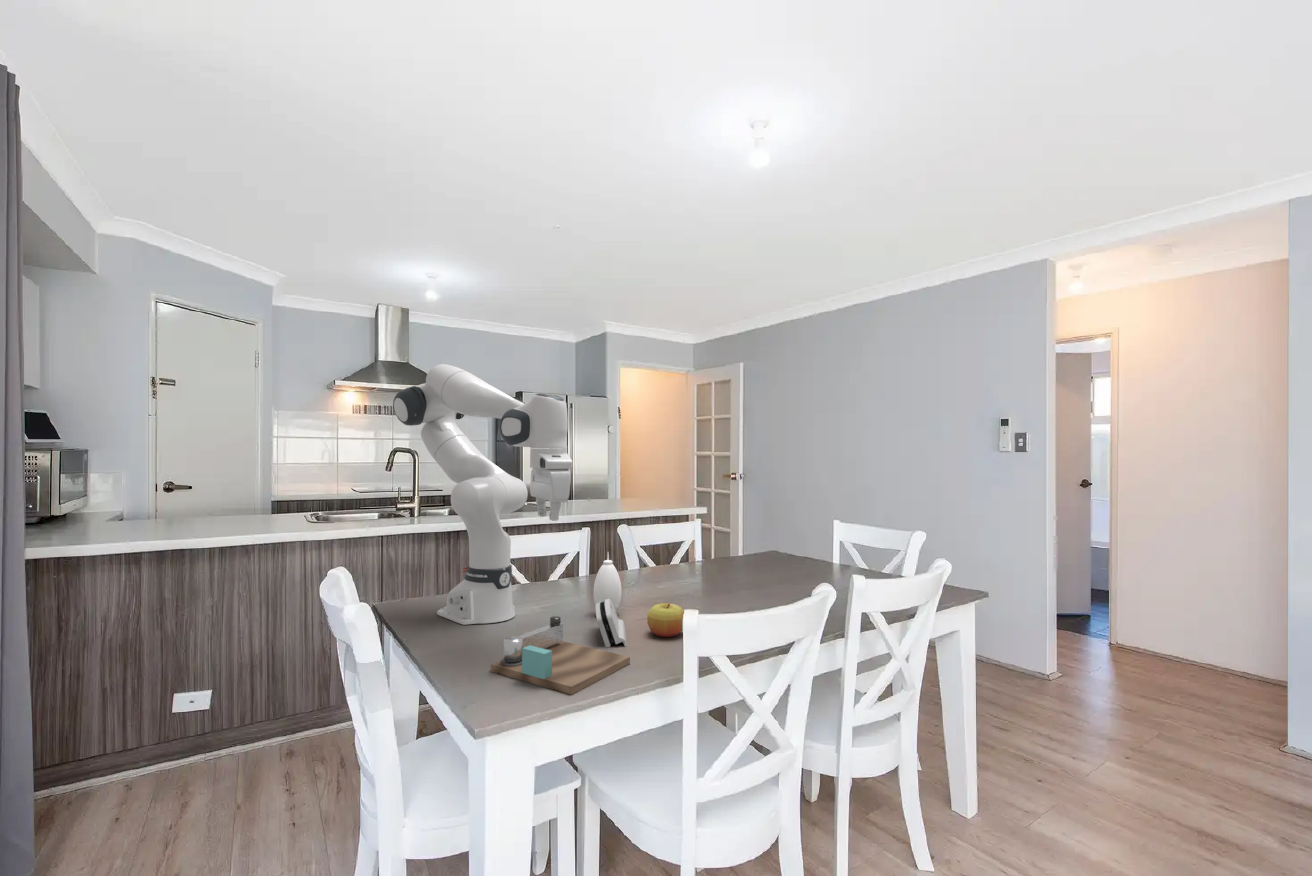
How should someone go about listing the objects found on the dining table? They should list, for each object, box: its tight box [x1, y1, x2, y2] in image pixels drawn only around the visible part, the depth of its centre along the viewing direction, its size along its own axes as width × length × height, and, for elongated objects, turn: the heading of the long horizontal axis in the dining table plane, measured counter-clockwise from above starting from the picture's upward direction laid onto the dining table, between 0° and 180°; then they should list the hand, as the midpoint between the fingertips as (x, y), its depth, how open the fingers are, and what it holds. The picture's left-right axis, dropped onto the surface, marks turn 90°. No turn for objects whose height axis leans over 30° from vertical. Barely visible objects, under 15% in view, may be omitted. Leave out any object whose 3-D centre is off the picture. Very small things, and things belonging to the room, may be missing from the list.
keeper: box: [522, 646, 552, 679], centre depth 123 cm, size 6×2×5 cm, turn 58°
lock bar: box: [502, 615, 564, 662], centre depth 135 cm, size 17×4×6 cm, turn 148°
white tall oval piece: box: [592, 551, 622, 611], centre depth 172 cm, size 8×8×18 cm
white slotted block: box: [595, 599, 628, 648], centre depth 153 cm, size 17×5×10 cm, turn 4°
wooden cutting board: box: [490, 641, 631, 696], centre depth 131 cm, size 22×20×2 cm
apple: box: [646, 602, 685, 638], centre depth 155 cm, size 10×10×8 cm
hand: (547, 518), depth 146 cm, fingers open, 8 cm apart
